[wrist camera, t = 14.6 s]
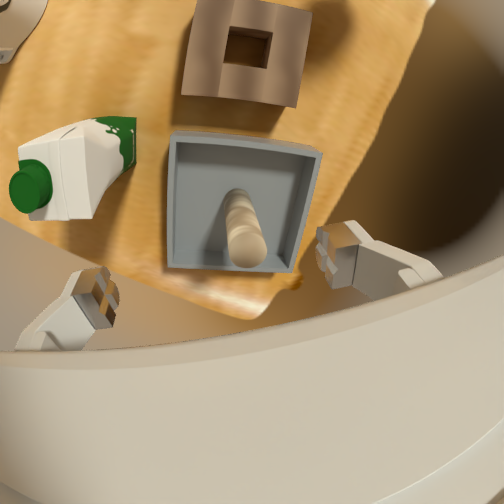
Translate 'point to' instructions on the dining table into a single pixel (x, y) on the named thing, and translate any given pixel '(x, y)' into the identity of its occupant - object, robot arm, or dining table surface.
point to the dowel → (243, 230)
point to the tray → (231, 177)
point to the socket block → (238, 76)
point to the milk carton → (72, 168)
